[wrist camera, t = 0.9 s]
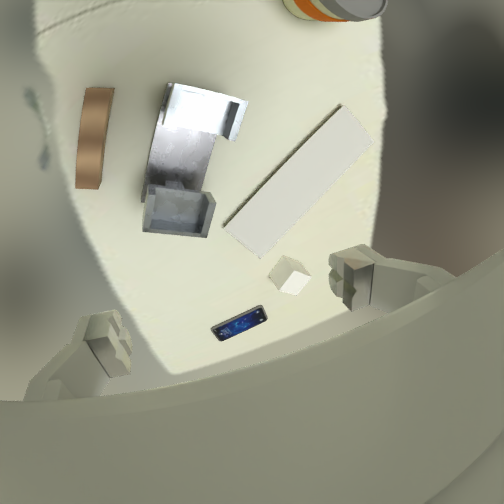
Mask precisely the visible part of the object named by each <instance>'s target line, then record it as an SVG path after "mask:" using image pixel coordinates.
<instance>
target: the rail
mask: <svg viewBox="0 0 504 504" xmlns="http://www.w3.org/2000/svg"><path fill="white" fill-rule="evenodd" d="M114 89H115V88H86V91H85V96H84V102H83V108H82V115H81V122H80V130H79V139H78V149H77V162H76V183H75V188H76V189H98V188H99V186H100V184H101V180H102V168H103V158H104V149H105V141H106V134H107V127H108V120H109V114H110V109H111V103H112V98H113V93H114Z"/></svg>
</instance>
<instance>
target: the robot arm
mask: <svg viewBox="0 0 504 504" xmlns="http://www.w3.org/2000/svg"><path fill="white" fill-rule="evenodd" d="M329 266H330V267H331V268H332V270H331V271H330V273H329V284H330V287H331V290H332V291H333V293H334V294H335V295H336V296H337V297H341V298H343V303H344V304H345V305H346V306H347V307H348V309H349V310H350V311H355V310H358V309H360V308H363V307H366V306H368V305H370V306H371V307H374V308H377V309H379V310H381V311H384V312H386V313H388V314H386V315H384V316H382V317H380V318H377V319H375V320H373V321H371V322H368V323H366V324H364V325H362V326H359V327H357V328H354V329H352V330H350V331H347V332H345V333H343V334H340V335H337V336H335V337H332V338H330V339H327V340H324V341H322V342H319V343H317V344H314V345H311V346H308V347H306V348H303V349H300V350H297V351H294V352H291V353H288V354H285V355H282V356H279V357H276V358H273V359H270V360H267V361H263V362H260V363H257V364H253V365H250V366H247V367H243V368H240V369H236V370H232V371H229V372H225V373H221V374H217V375H213V376H210V377H205V378H201V379H197V380H192V381H188V382H183V383H178V384H174V385H169V386H163V387H159V388H153V389H148V390H141V391H136V392H129V393H122V394H114V395H106V396H100V394H101V393H102V391H103V390H104V388H105V387H106V385H107V384H108V382H109V380H110V378H113V377H118V376H123V375H128V374H130V372H131V371H130V370H131V359H130V358H129V356H130V354H131V353H132V341H131V338H130V334H129V332H128V330H127V328H125V327H124V326H122V325H121V322H122V318H121V316H120V314H119V313H118V311H117V310H111V311H106V312H101V313H96V314H91V315H87V316H82V317H81V318H80V319H79V321H78V324H77V327H76V329H75V332H74V335H73V338H72V341H71V343H70V344H67V345H66V346H65V347H64V348H63V349H62V350H61V351H59V353H57V354H56V355H55V356H54V357H53V358H52V359H51V360H50V361H49V362H48V363H47V364H46V365H45V366H44V367H43V368H42V369H41V370H40V371H39V372H38V373H37V374H36V375H35V376H34V377H33V378H32V379H31V380H30V381H29V384H28V387H27V390H26V393H25V396H24V399H23V401H2V400H1V401H0V504H504V249H502V250H500V251H499V252H497V253H496V254H494V255H493V256H491V257H490V258H488V259H487V260H485V261H484V262H482V263H480V264H479V265H477V266H476V267H474V268H472V269H471V270H469V271H468V272H466V273H464V274H463V275H461V276H459V277H457V278H456V277H454V276H453V275H452V274H450V273H448V272H447V271H445V270H444V269H442V268H440V267H435V266H429V265H425V264H419V263H414V262H409V261H403V260H398V259H392V258H389V259H386V258H385V257H383V256H382V255H380V254H379V253H377V252H375V251H374V250H372V249H371V248H369V247H368V246H366V245H365V244H360V245H357V246H354V247H351V248H348V249H345V250H342V251H339V252H336V253H333V254H330V256H329Z"/></svg>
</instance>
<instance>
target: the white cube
mask: <svg viewBox="0 0 504 504" xmlns="http://www.w3.org/2000/svg"><path fill="white" fill-rule="evenodd" d="M269 276H270V277H271V279H272V281H273V282H274V284H275V286H276V287H277V289H278V290H279V291H282V292H285V293H289V294H292V295H296V296H297V295H298V294H299V292H300V291H301V290H302V289H303V287H304V286H305V285H306V284H307V282H308V281H309V280H310V279H311V275H310V274H309V273H308V271H307V270H306V269H305V268H304V266H303V265H302V264H301V262H299V261H296V260H294V259H291V258H289V257H286V256H284V255H283V256H282V257H281V259H280V260H279V261H278V263H277V264H276V265H275V267H274V268H273V269H272V271H271V272H270V274H269Z"/></svg>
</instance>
